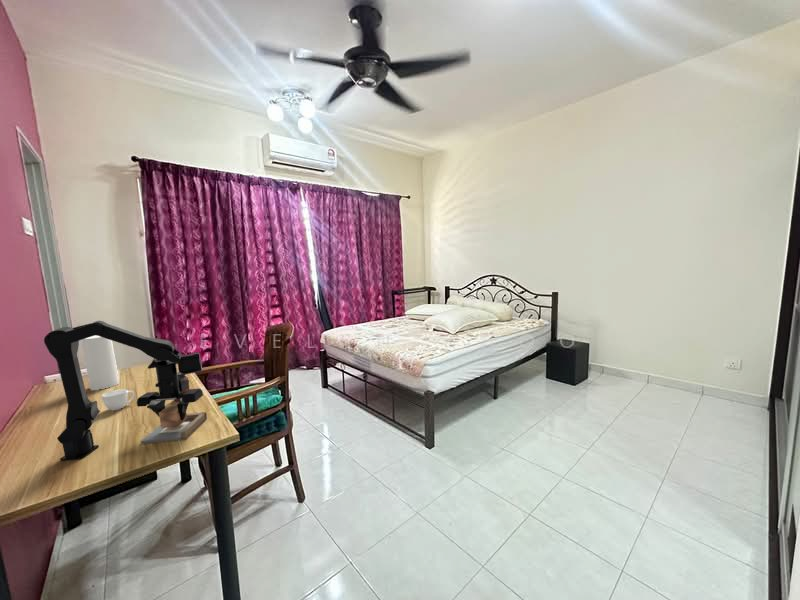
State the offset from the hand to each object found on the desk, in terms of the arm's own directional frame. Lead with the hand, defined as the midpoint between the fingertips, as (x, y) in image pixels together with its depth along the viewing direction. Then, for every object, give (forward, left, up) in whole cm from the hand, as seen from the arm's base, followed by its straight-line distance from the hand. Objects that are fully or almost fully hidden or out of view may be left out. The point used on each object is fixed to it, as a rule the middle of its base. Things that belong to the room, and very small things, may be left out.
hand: (174, 420), depth 114 cm
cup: (+24, +34, -4) cm, 42 cm away
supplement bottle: (+28, +12, -4) cm, 30 cm away
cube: (0, 0, -1) cm, 1 cm away
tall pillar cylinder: (+52, +61, -4) cm, 80 cm away
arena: (0, -1, -3) cm, 3 cm away
